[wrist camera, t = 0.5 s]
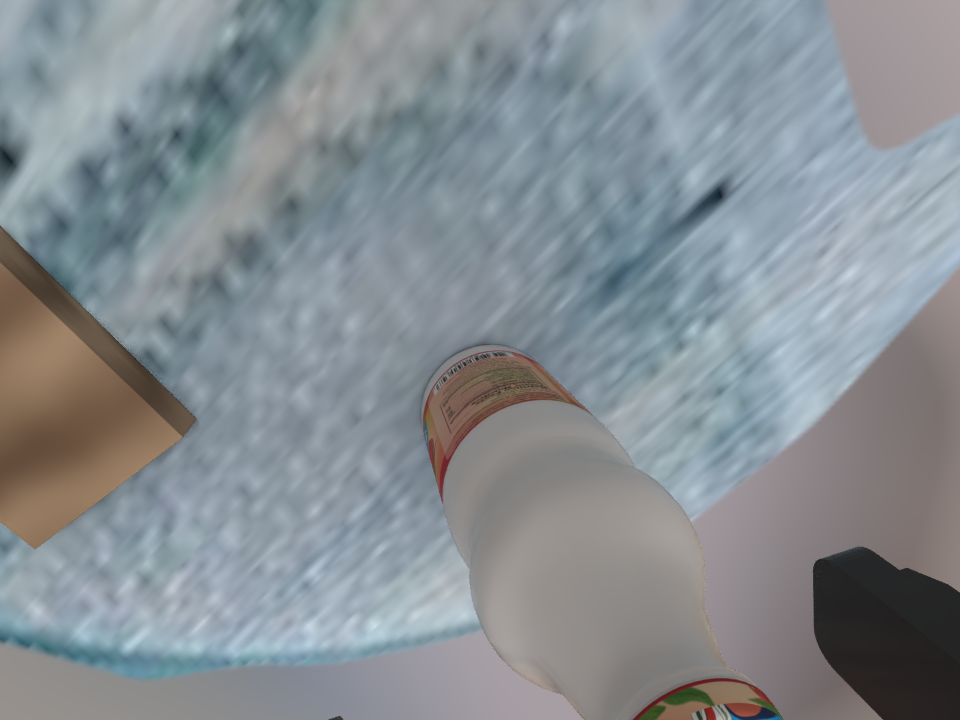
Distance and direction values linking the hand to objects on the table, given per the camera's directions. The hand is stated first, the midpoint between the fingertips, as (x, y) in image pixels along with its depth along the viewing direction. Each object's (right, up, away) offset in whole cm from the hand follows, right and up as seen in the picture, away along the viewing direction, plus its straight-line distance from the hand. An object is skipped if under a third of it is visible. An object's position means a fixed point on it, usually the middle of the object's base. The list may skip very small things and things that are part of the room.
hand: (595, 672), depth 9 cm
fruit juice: (-2, +2, +32) cm, 32 cm away
